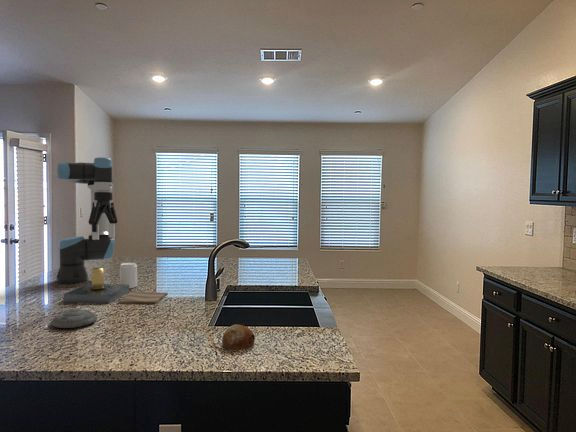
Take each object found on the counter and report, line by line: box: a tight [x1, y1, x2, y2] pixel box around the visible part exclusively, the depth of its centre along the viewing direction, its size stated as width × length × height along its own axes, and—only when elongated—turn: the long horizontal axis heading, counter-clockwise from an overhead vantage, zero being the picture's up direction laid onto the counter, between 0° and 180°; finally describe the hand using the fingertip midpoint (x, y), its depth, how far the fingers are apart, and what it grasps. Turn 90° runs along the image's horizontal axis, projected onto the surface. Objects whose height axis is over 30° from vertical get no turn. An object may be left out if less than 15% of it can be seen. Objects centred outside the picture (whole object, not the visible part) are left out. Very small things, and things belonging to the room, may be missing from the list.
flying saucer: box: [50, 308, 98, 329], centre depth 144 cm, size 15×15×6 cm
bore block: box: [62, 283, 130, 304], centre depth 181 cm, size 20×20×4 cm
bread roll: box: [221, 324, 256, 350], centre depth 127 cm, size 10×10×8 cm
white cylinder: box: [119, 262, 138, 290], centre depth 199 cm, size 8×8×12 cm
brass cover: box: [91, 267, 105, 291], centre depth 181 cm, size 5×5×13 cm
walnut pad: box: [118, 291, 169, 305], centre depth 178 cm, size 16×16×1 cm
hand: (103, 238), depth 181 cm, fingers open, 13 cm apart
